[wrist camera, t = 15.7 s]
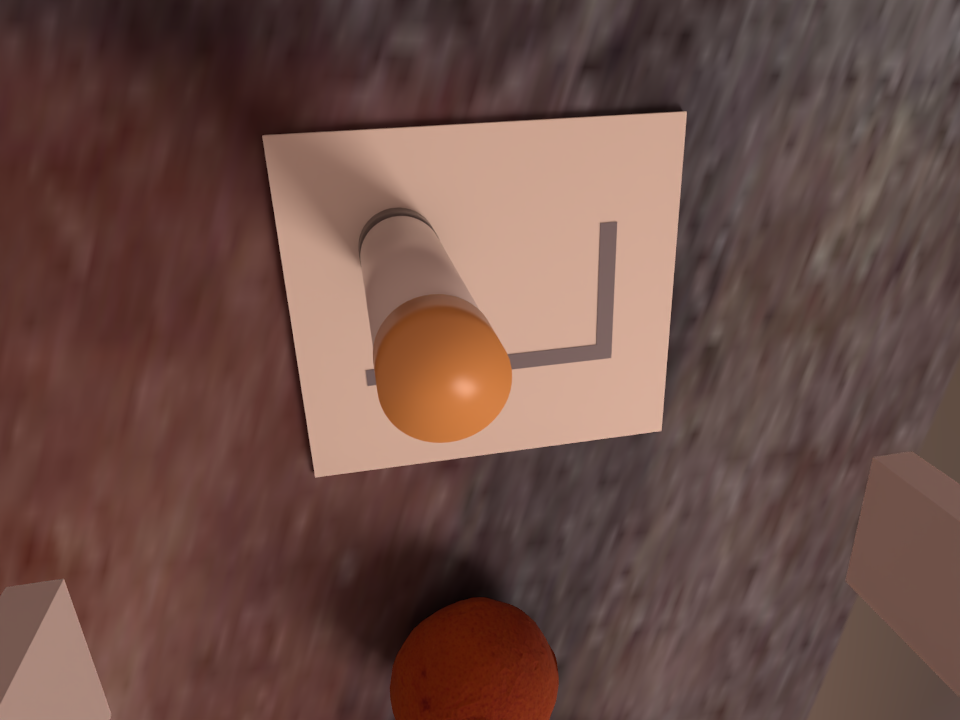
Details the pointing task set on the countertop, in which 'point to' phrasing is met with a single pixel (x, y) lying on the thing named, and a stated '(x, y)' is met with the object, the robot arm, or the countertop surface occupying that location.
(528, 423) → the paper
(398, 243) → the marker
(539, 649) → the fruit
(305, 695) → the countertop surface
